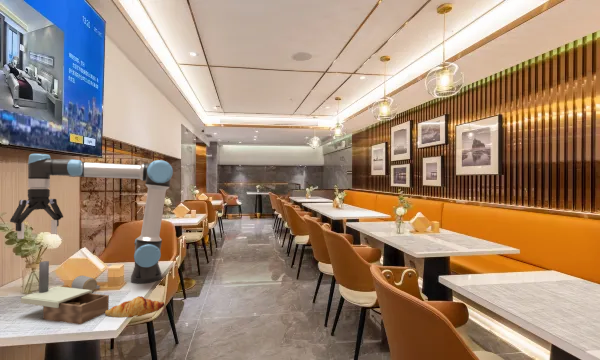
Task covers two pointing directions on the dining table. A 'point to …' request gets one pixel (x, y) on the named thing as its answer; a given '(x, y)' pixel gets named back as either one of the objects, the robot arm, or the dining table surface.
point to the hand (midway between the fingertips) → (38, 236)
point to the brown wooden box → (78, 309)
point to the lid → (51, 291)
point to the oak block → (74, 303)
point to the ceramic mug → (85, 283)
